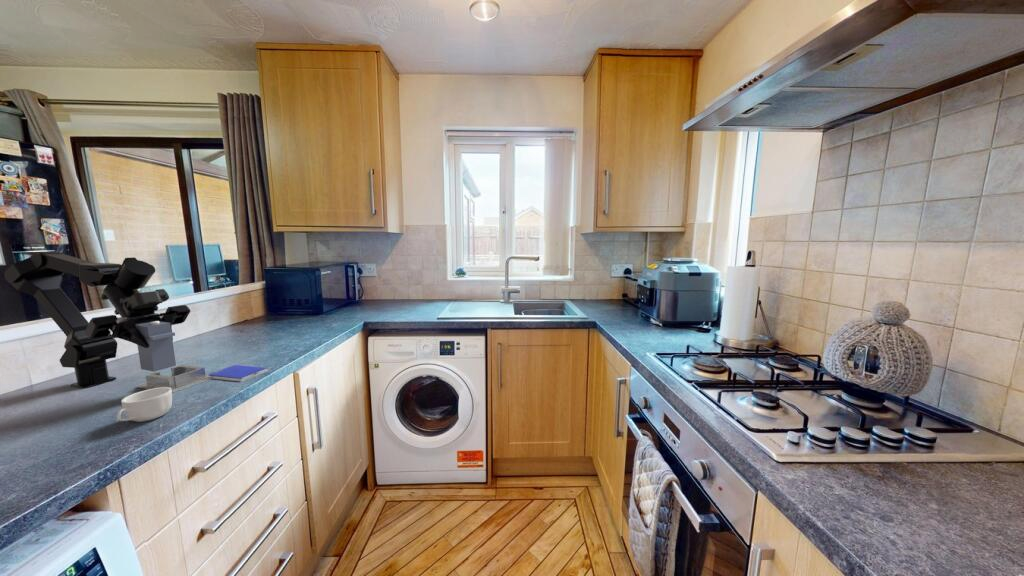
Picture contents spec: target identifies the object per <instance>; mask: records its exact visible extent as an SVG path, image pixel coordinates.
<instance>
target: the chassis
mask: <svg viewBox="0 0 1024 576" xmlns="http://www.w3.org/2000/svg"><path fill="white" fill-rule="evenodd" d="M205 370H206V369H205V367H202V366H201V367H200V366H194V365H186V364H182V365H176V366H173V367H170V371H171V372H170V374H168V375H162V374H161V373H160V372H159V371H155V372H153V373H149V374H147V375H145V382H141V383H139V384H137V388H139V389H140V388H141V389H145V390H149V389H153V388H160V387H169V388H171V389H172V394H173V393H177V392H179V391H181V390H184V389H187V388H191V387H193V386H196V385H199V384H202V383H205V382H207V381H211V380H214V376H210V375H209V374H208V373H207V374H206V371H205Z"/></svg>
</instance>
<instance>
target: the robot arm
mask: <svg viewBox="0 0 1024 576" xmlns="http://www.w3.org/2000/svg"><path fill="white" fill-rule="evenodd" d="M155 273H156V268H155V266H154V265H153V264H150V263H148V262H145V261H144V260H140V259H137V258H136V257H125V258H124V259H123V261H122V263H113V262H93V261H90V260H87V259H82V258H79V257H76V256H72V255H69V254H66V253H64V252H60V251H42V252H41V251H40V252H39V251H38V252H36V253H35V252H34V253H33V254H31V255H30V257H27V258H25V259H22V260H20V261H17V262H14V263H12V264H11V265H10V266H9V267H8V268H7V269H6V270H5V271H4V273H3V274H4V275H3V276H4V280H5V281H6V282H7V283H9V284H10V285H11V286H12V287H14V288H15V289H16V291H18V292H21V293H24V294H27V295H29V296H31V297H34V298H35V300H36V301H37V302H38V303H39V305H40V306H41V308H43V309H44V311H45V312H46V313H47V314H48V316H49V317H50V318H51V319H52V320H53V321H54V323H56V325H57V326H58V328H59V329H60V330H61V331H62V332H63V333H64V335H65V336H66V338H65V343H64V347H63V348H64V349H65V351H64V352H63V354H62V355H61V356H60V357H59V363H60V365H61V366H62V368H74V374H75V379H76V382H72V383H71V384H70V387H75V388H82V389H87V388H90V387H92V386H97V385H100V384H103V383H106V382H111V381H114V380H116V379H117V377H114V376H110V375H109V370H108V363H107V360H111V359H115V358H116V357H117V351H118V341H117V339H120V340H123V341H127V342H130V343H133V344H135V345H139V346H142V347H144V348H148V347H149V345H148V343H147V341H146V339H145V338H144V337H143V336H142V334H141V333H140V332H139V331H138V329H137V328H136V325H138V324H144V323H149V322H153V321H160V322H168V323H170V326H171V332H173V330H172V328H173V327H172V326H174V325H179V324H183V323H185V322H186V320H187V318H188V316H189V315H190V313H191V312H192V311H191V309H190V308H189V306H188V305H186V304H180V305H174V306H167V309H166V311H165V312H162V313H161V312H158V313H155V312H157V311H158V310H159V305H160V304H163V302H164V303H165V302H166V301H168V300H169V299H170V296H169V293H168V292H167V290H166V289H165V288H160V289H155V290H153V291H143V292H140V291H139V289H143V288H145V286H147V284H148V282H149V281H150V280H151V278H152V277H153V276H154V274H155ZM65 274H67V275H72V276H75V277H77V278H78V280H79V282H81V283H83V284H85V285H87V286H89V287H92V288H93V287H104V289H103V290H102V294H101V296H100V298H101V300H102V301H103V300H104V301H107V300H108V301H109V302H110V303H111V305H112V307H114V309H115V310H114V311H113V312H114V314H110V315H109V314H108V315H104V316H103V315H102V316H95V317H92V318H91V319H90V320H89V321H88V320H87V319H86V317H85V316H84V315H83V314H82V312H80V310H79V308H77V306H76V305H75V304H74V303H73V302H72V300H71V299H70V298H69V297H68V296H67V294H66V293H65V292H64V291H63V289H62V288H61V284H62V281H63V277H62V276H63V275H65ZM117 315H119V316H120V317H118V316H117ZM111 333H112V334H111ZM173 337H174V336H172V340H173V341H174V338H173Z"/></svg>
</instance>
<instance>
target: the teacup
mask: <svg viewBox="0 0 1024 576" xmlns="http://www.w3.org/2000/svg"><path fill="white" fill-rule="evenodd" d="M121 405H122V408H121V409H119V410H118V412H117V413H116V419H117V421H121V422H122V421H123V422H124V421H125V422H126V421H133V422H139V423H142V422H148V421H153V420H156V419H158V418H160V417H162V416H164V415H165V414H166V413H167V414H168V412H169V411H170V410H171V407H172V405H173V393H172V389H171V388H169V387H160V388H153V389H145V390H141V391H138V392H135V393H132V394H129V395H127V396H126V397H125V396H124V398H122V399H121ZM122 413H124V415H125V416H126V418H122V416H121V415H122Z"/></svg>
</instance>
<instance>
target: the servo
mask: <svg viewBox="0 0 1024 576" xmlns="http://www.w3.org/2000/svg"><path fill="white" fill-rule="evenodd" d="M136 328H137V329H138V331H139V332H140V333H141V334H142V336H143V337H144V338H145V339H146V341H147V343H148V345H149V347H148V348H144V347H142V346H139V345H137V344H136V345H137V351H138V359H139V364H140V370H144V371H148V372H149V371H150V372H153V373H155V372H159V371H161V370H164V369H165V370H166V369H169V368H173V367H176V366H177V364H176V354H175V349H174V339H173V340H172V336H173V337H175V336H176V332H174V331H172V332H171V326H170V323H168V322H160V321H153V322H149V323H144V324H138V325H136Z"/></svg>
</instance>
